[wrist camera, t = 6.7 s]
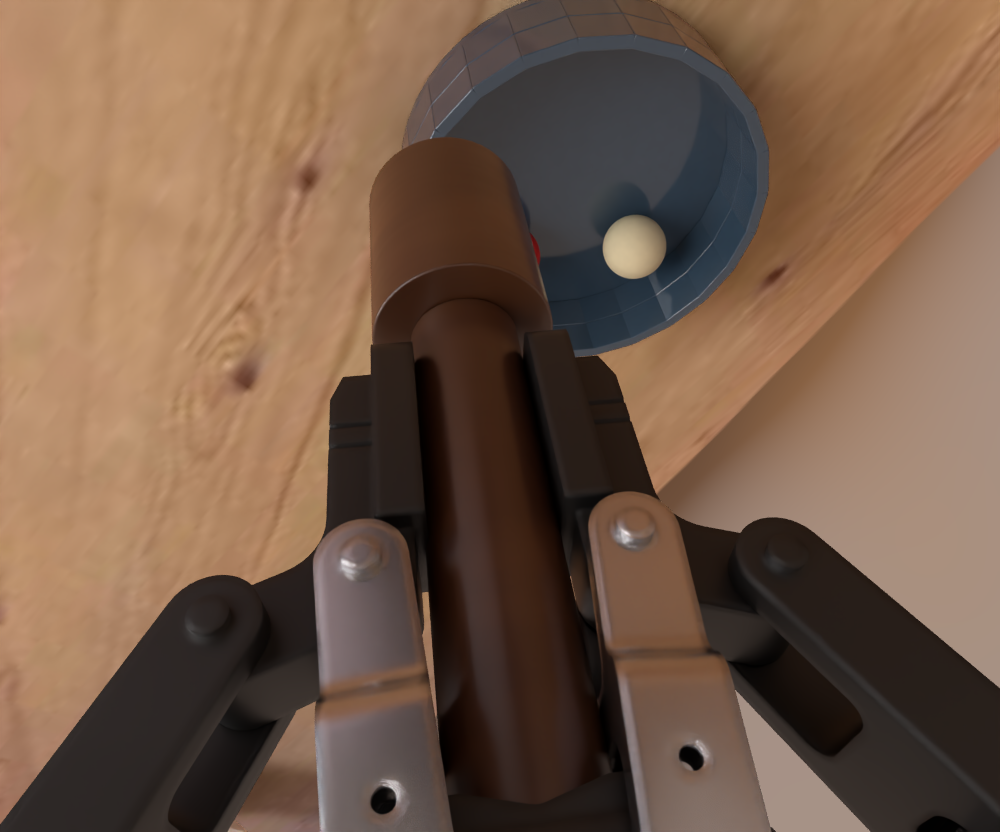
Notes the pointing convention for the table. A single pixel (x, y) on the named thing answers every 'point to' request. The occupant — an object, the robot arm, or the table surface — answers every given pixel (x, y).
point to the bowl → (609, 152)
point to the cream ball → (634, 246)
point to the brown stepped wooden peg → (484, 475)
